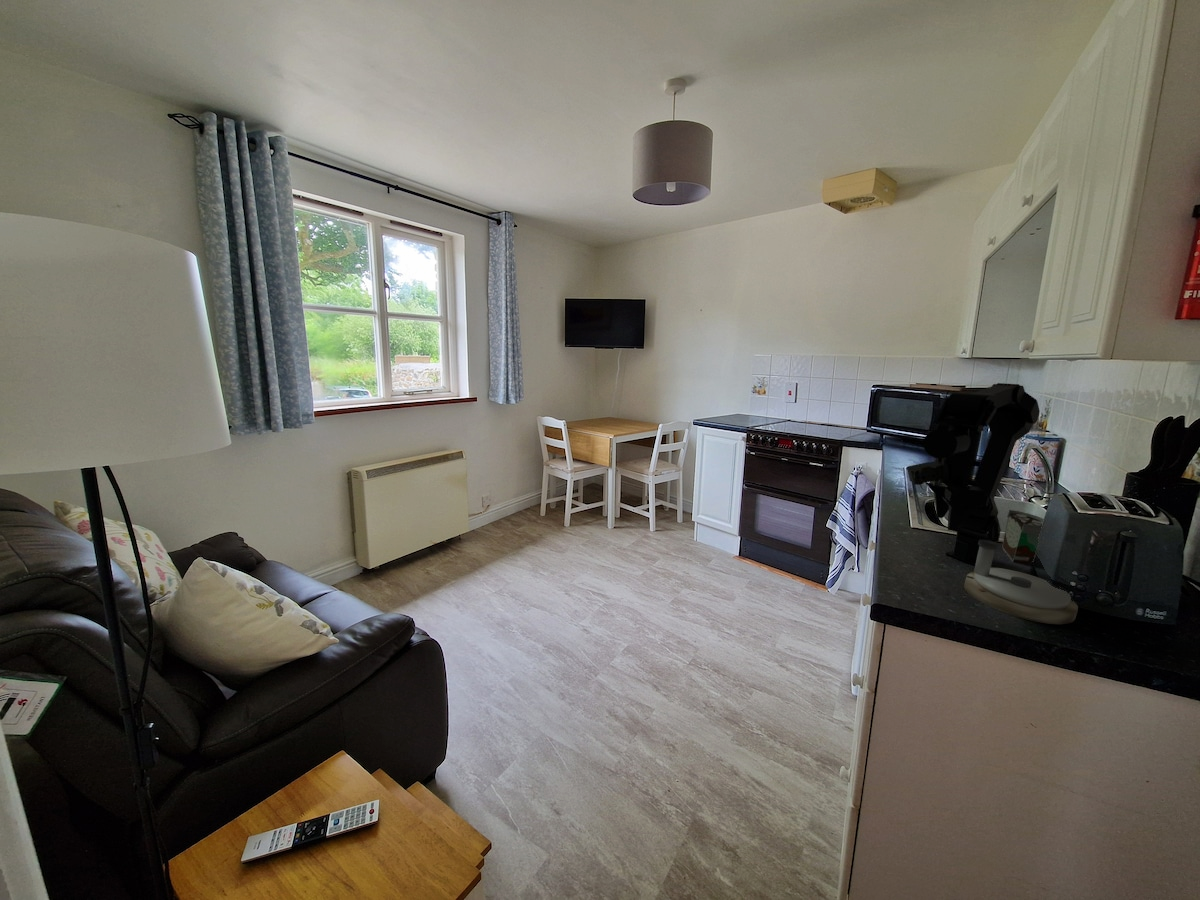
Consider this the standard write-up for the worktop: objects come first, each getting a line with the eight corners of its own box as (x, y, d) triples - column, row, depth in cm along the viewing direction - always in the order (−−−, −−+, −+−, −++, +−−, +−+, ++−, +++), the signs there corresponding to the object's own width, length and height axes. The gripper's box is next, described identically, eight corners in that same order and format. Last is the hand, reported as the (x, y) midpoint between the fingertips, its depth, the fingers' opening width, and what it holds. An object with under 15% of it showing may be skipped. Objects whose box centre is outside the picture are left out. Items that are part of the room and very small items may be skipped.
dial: (996, 567, 98) (1004, 533, 97) (1083, 600, 86) (1094, 560, 84) (958, 579, 93) (966, 543, 91) (1047, 615, 80) (1058, 574, 78)
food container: (1049, 571, 103) (1060, 530, 100) (1014, 564, 106) (1024, 524, 103) (1031, 551, 113) (1041, 513, 111) (1000, 545, 116) (1008, 509, 114)
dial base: (990, 574, 100) (992, 565, 100) (1092, 612, 86) (1095, 602, 85) (947, 588, 94) (949, 578, 93) (1049, 632, 79) (1052, 621, 79)
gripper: (902, 441, 105) (892, 505, 109) (928, 458, 88) (914, 533, 91) (960, 446, 101) (947, 511, 105) (998, 464, 84) (981, 542, 88)
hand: (945, 523), depth 97 cm, fingers open, 7 cm apart
